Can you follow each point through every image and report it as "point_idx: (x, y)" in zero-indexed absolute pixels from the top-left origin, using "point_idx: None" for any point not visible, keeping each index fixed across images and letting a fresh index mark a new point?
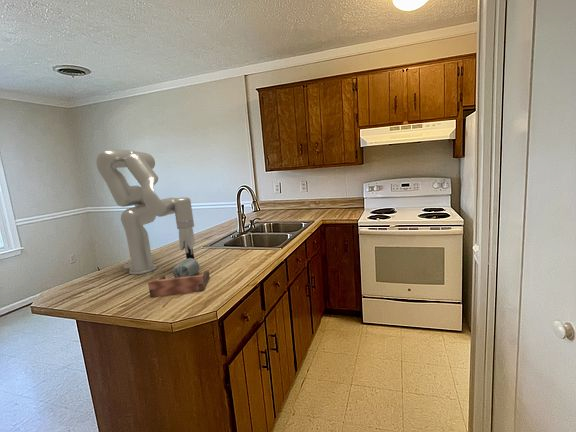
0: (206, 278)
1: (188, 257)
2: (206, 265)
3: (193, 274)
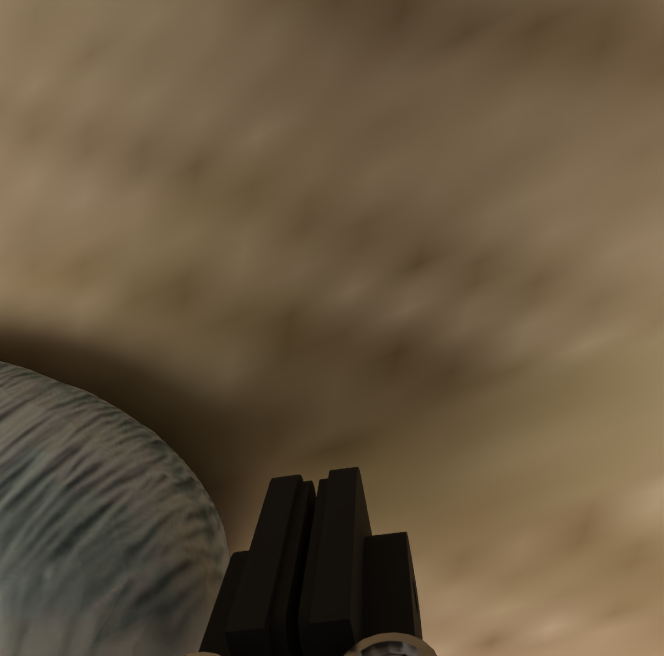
0: None
1: (210, 650)
2: (613, 596)
3: None
